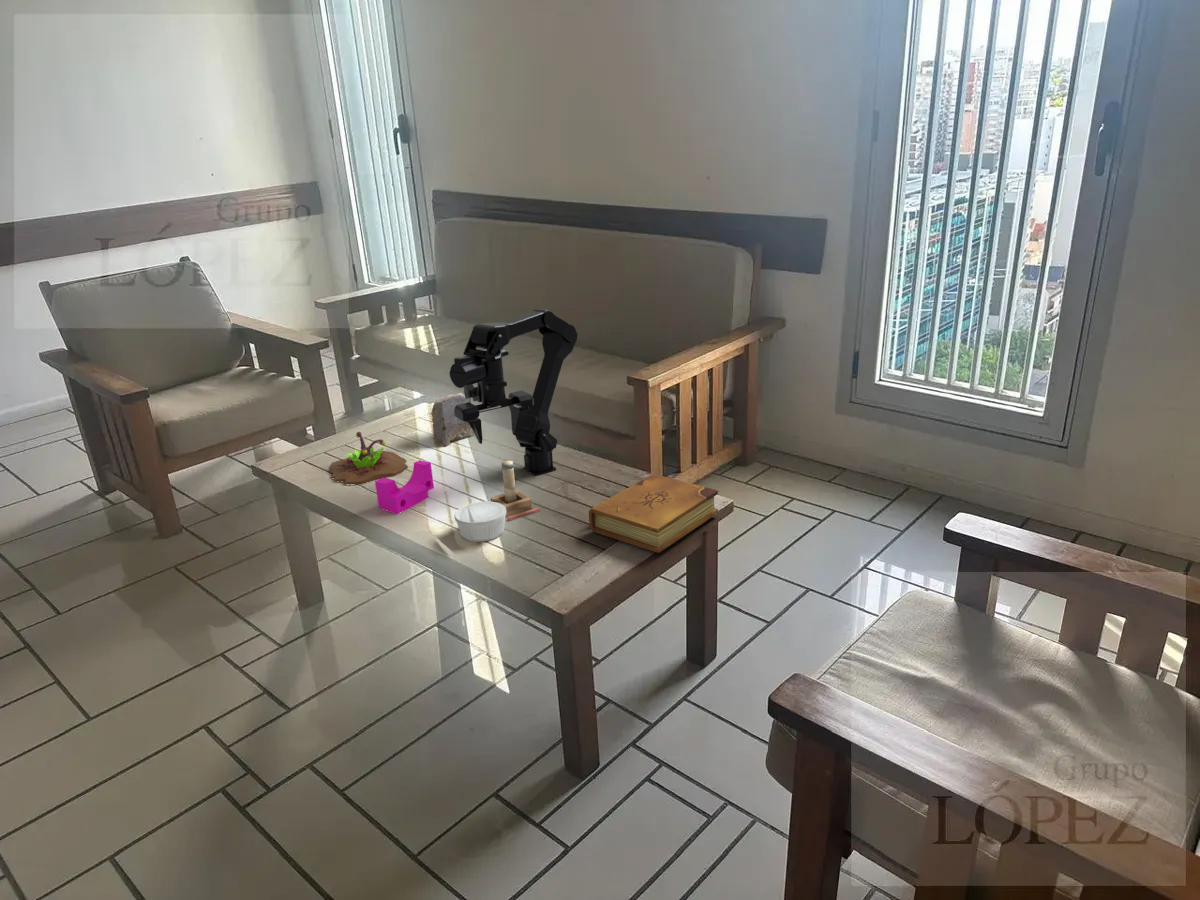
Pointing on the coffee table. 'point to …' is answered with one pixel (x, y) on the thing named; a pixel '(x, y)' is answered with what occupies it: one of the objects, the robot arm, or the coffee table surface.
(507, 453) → the coffee table surface
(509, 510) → the wooden square frame
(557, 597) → the coffee table surface
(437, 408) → the geological specimen
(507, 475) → the dowel
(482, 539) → the ramekin
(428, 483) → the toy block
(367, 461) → the plant
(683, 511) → the diary
